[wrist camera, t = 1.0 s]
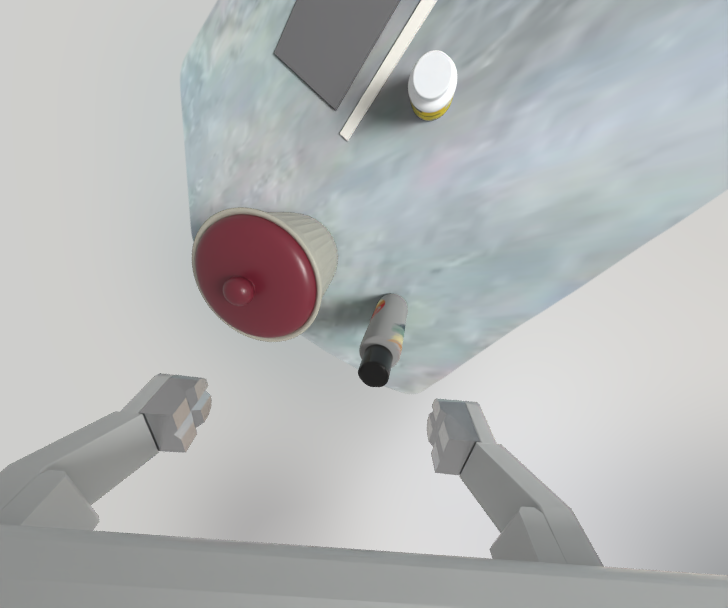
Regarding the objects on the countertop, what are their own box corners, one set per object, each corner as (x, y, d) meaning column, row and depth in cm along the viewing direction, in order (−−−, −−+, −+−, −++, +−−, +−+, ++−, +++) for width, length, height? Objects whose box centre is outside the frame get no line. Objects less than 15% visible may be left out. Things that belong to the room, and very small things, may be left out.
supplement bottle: (404, 112, 38) (396, 93, 29) (422, 65, 36) (420, 29, 27) (439, 129, 38) (442, 114, 29) (460, 82, 35) (471, 52, 27)
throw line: (452, -49, 31) (452, -51, 31) (461, -38, 31) (461, -40, 31) (340, 133, 41) (339, 133, 40) (348, 140, 41) (347, 140, 41)
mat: (351, -119, 30) (350, -123, 30) (424, -42, 32) (424, -44, 31) (275, 54, 38) (274, 53, 38) (336, 110, 40) (335, 109, 39)
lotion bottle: (371, 310, 52) (341, 379, 34) (387, 287, 49) (364, 349, 31) (397, 326, 52) (380, 403, 34) (414, 303, 49) (405, 374, 32)
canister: (242, 246, 52) (138, 285, 33) (299, 173, 44) (205, 170, 26) (310, 313, 55) (249, 384, 36) (375, 255, 47) (339, 307, 29)
